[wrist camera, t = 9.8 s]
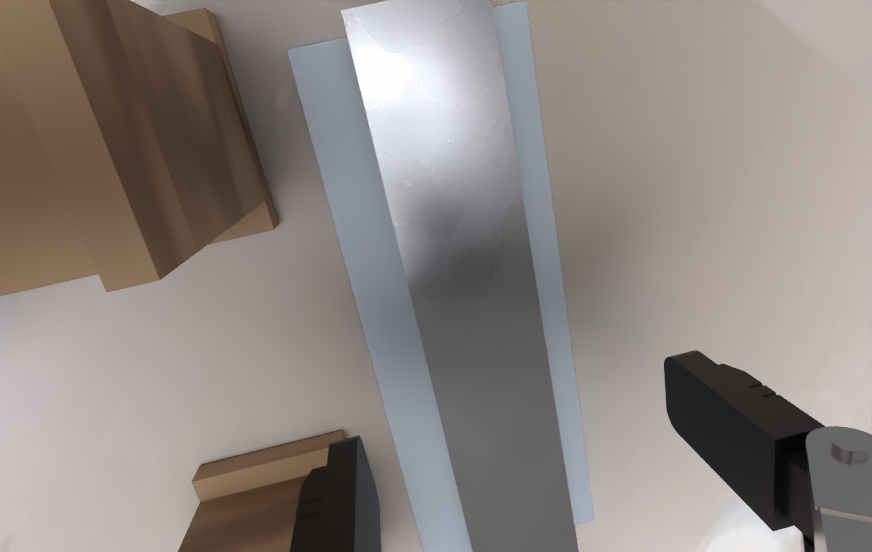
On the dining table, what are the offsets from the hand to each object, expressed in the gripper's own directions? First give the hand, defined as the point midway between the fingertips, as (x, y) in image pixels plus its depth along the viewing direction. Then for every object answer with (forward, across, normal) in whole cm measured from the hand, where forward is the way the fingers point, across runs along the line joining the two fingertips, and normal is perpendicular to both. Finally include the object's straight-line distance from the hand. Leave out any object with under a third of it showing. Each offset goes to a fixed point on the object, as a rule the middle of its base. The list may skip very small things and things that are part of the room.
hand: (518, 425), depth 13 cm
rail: (+7, 0, 0) cm, 7 cm away
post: (+8, +9, -8) cm, 15 cm away
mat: (+8, 0, 0) cm, 8 cm away
